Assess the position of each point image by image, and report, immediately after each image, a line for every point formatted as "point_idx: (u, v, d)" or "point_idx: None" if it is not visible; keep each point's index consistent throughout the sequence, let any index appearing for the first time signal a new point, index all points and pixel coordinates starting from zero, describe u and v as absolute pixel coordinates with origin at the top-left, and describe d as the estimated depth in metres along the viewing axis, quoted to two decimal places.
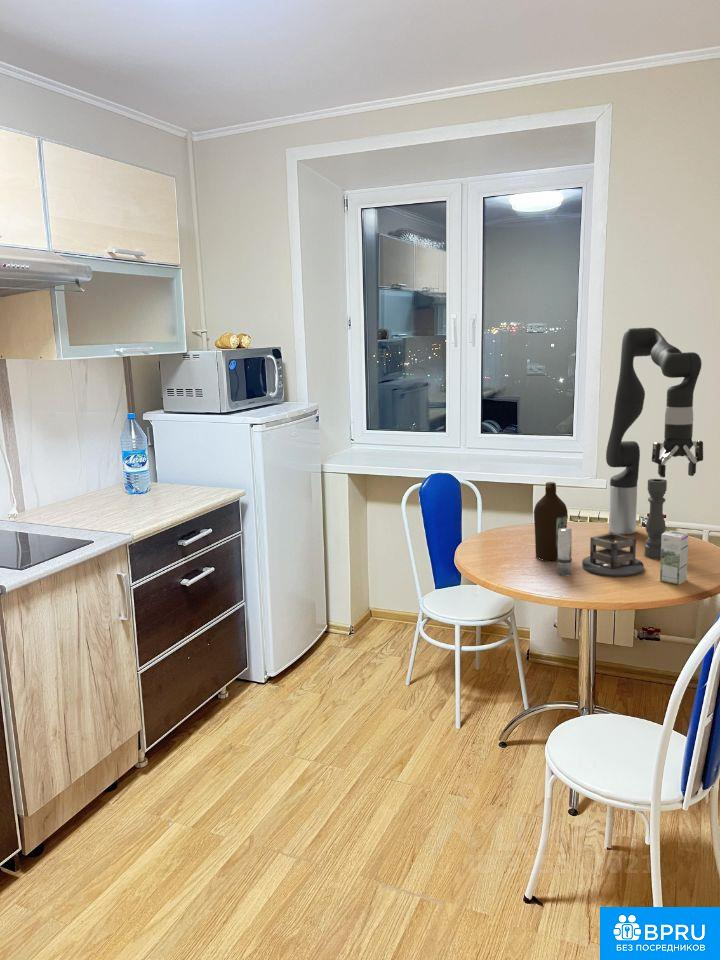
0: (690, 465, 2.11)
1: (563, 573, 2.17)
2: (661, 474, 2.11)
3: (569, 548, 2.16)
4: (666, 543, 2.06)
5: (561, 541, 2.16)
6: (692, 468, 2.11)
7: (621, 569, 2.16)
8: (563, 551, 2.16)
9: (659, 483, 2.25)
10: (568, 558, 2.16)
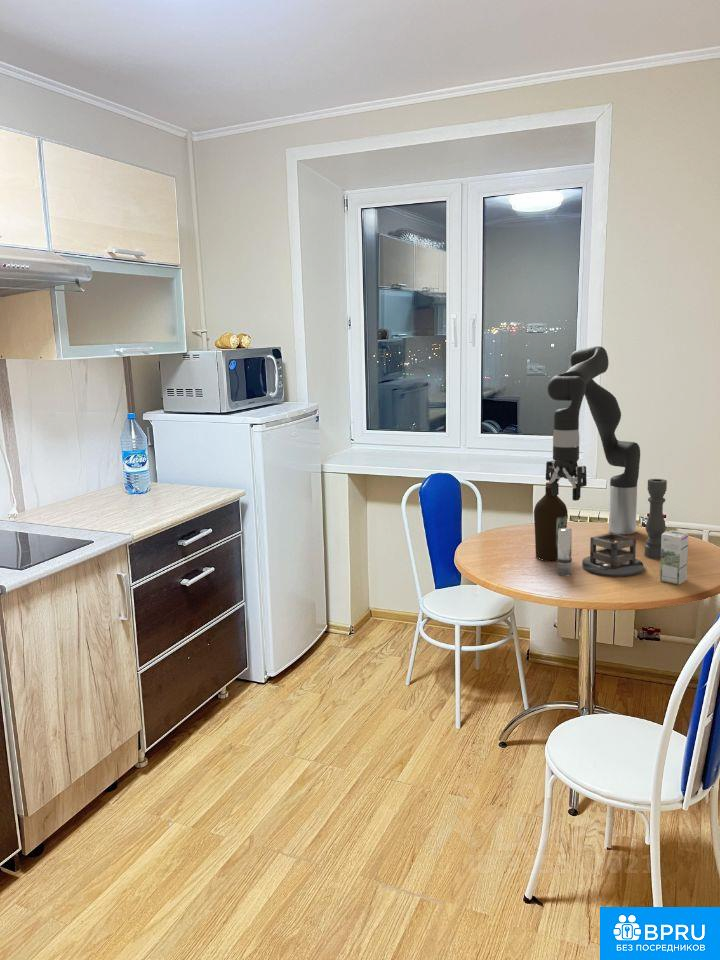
0: (556, 485, 2.18)
1: (563, 573, 2.17)
2: None
3: (569, 548, 2.16)
4: (666, 543, 2.06)
5: (561, 541, 2.16)
6: None
7: (621, 569, 2.16)
8: (563, 551, 2.16)
9: (659, 483, 2.25)
10: (568, 558, 2.16)
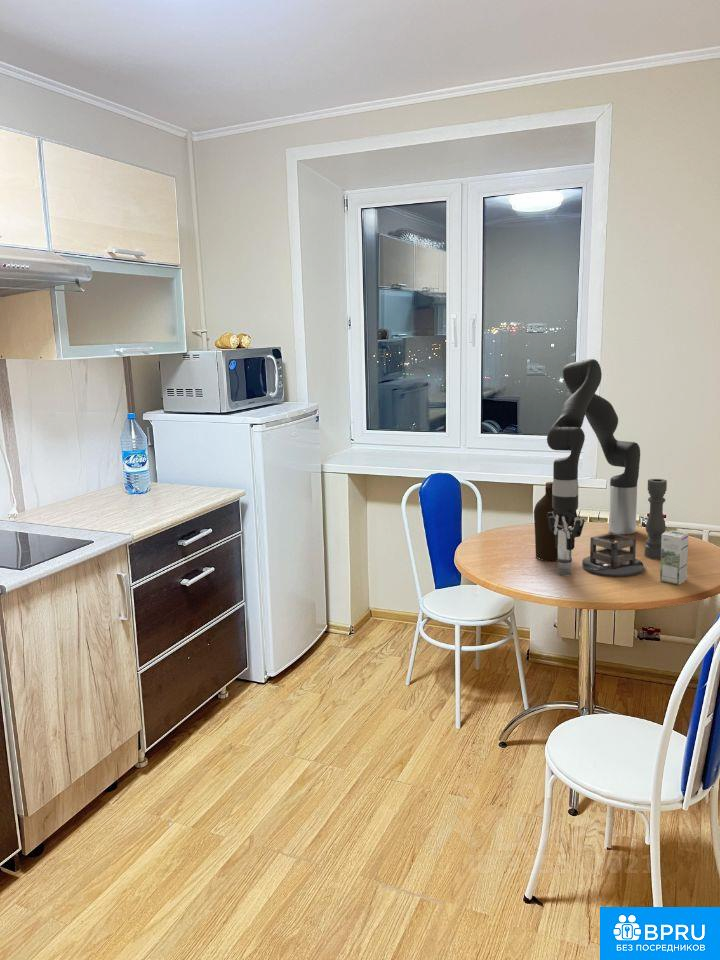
0: None
1: (563, 573, 2.17)
2: None
3: None
4: (666, 543, 2.06)
5: (561, 541, 2.16)
6: None
7: (621, 569, 2.16)
8: (563, 551, 2.16)
9: (659, 483, 2.25)
10: (568, 558, 2.16)
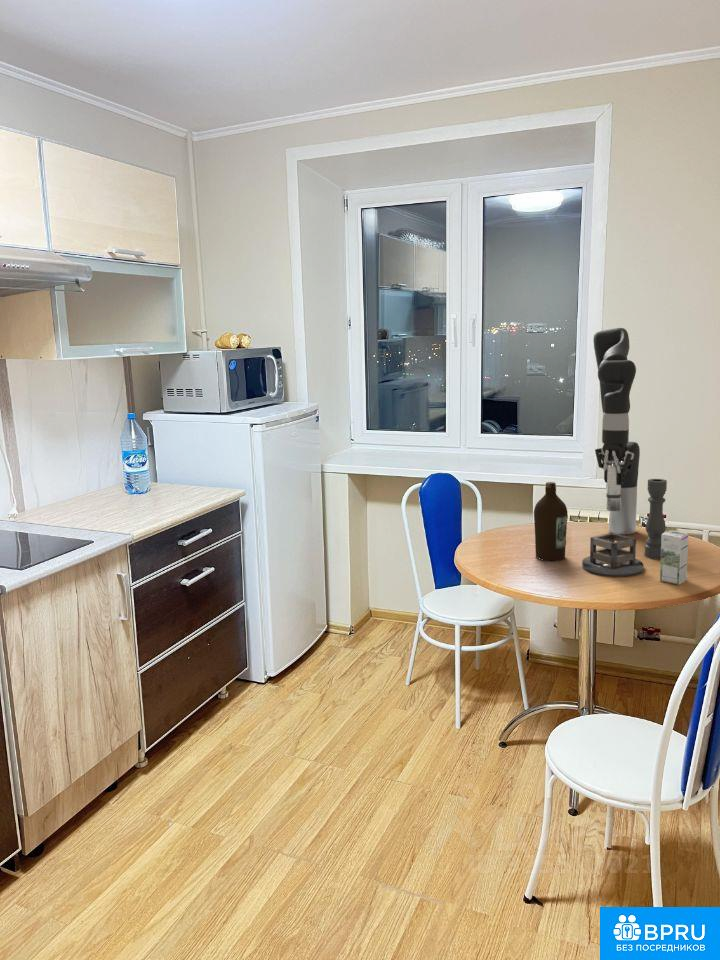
0: None
1: (613, 508, 2.18)
2: None
3: None
4: (666, 543, 2.06)
5: (611, 476, 2.16)
6: None
7: (621, 569, 2.16)
8: (612, 486, 2.16)
9: (659, 483, 2.25)
10: (618, 493, 2.17)
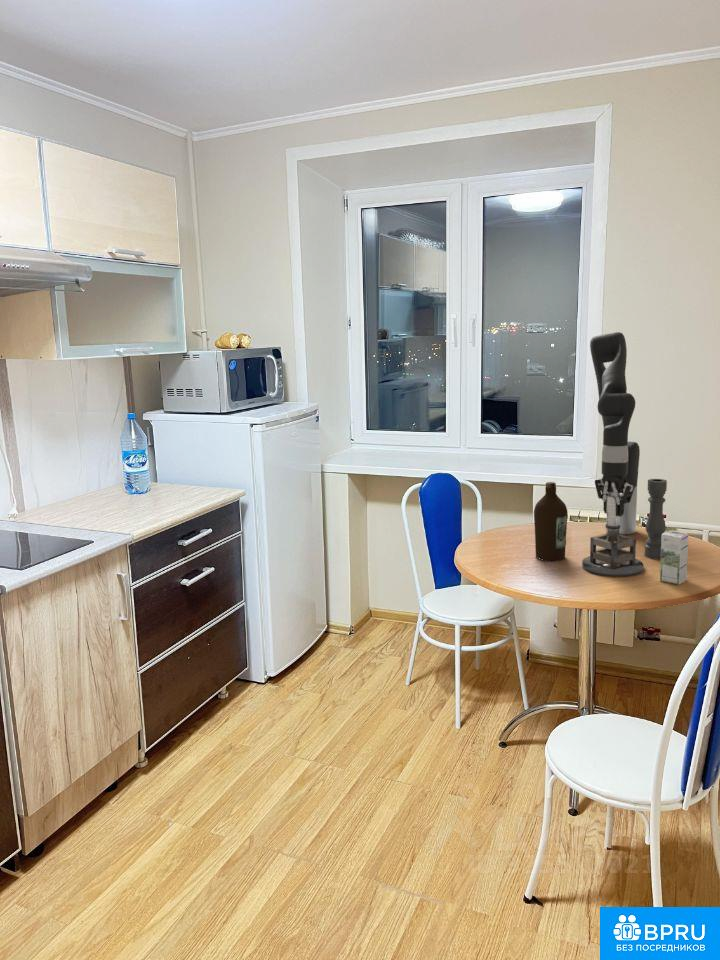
0: None
1: (612, 539, 2.19)
2: None
3: None
4: (666, 543, 2.06)
5: (610, 507, 2.18)
6: None
7: (621, 569, 2.16)
8: (612, 517, 2.18)
9: (659, 483, 2.25)
10: (617, 524, 2.18)
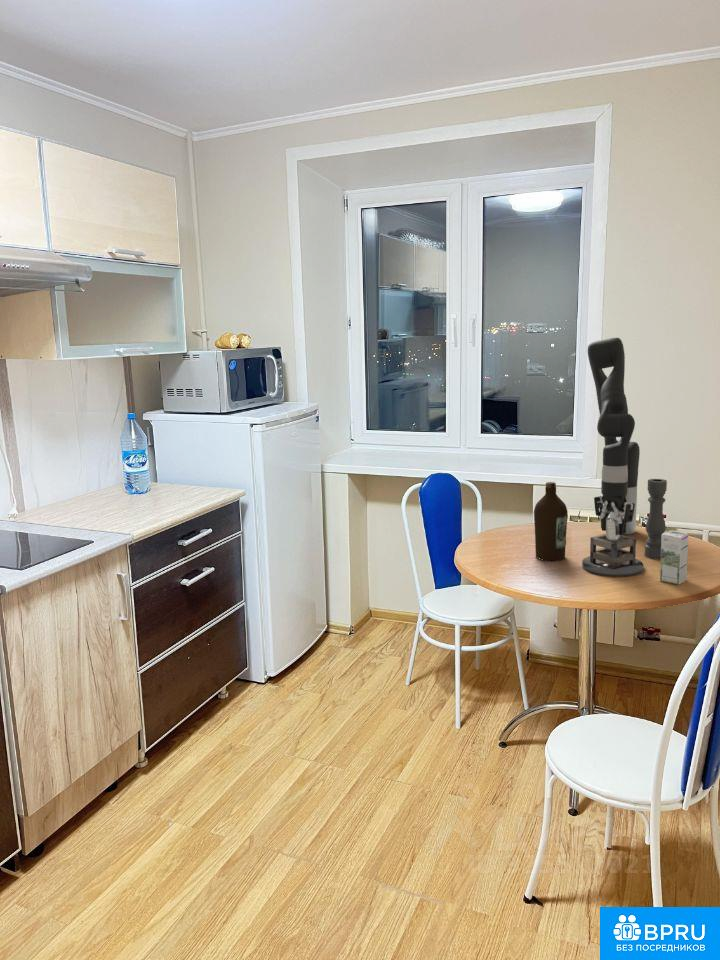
0: None
1: None
2: None
3: (617, 537, 2.19)
4: (666, 543, 2.06)
5: (610, 530, 2.19)
6: None
7: (621, 569, 2.16)
8: (611, 540, 2.19)
9: (659, 483, 2.25)
10: None
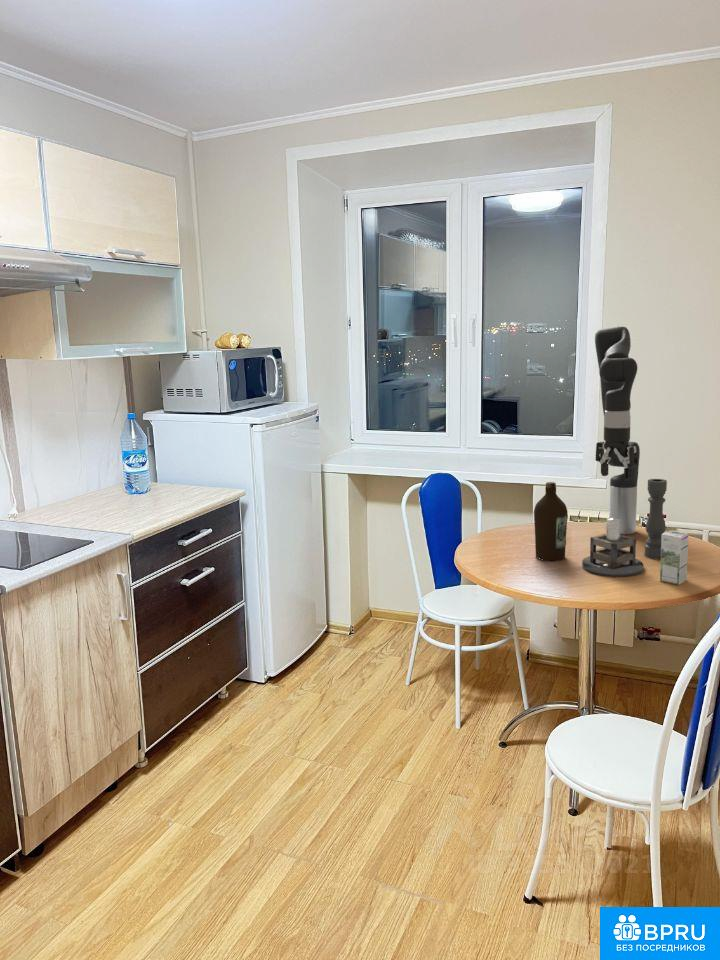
0: (606, 466, 2.22)
1: None
2: None
3: (618, 537, 2.19)
4: (666, 543, 2.06)
5: (610, 530, 2.19)
6: None
7: (621, 569, 2.16)
8: (611, 540, 2.20)
9: (659, 483, 2.25)
10: None
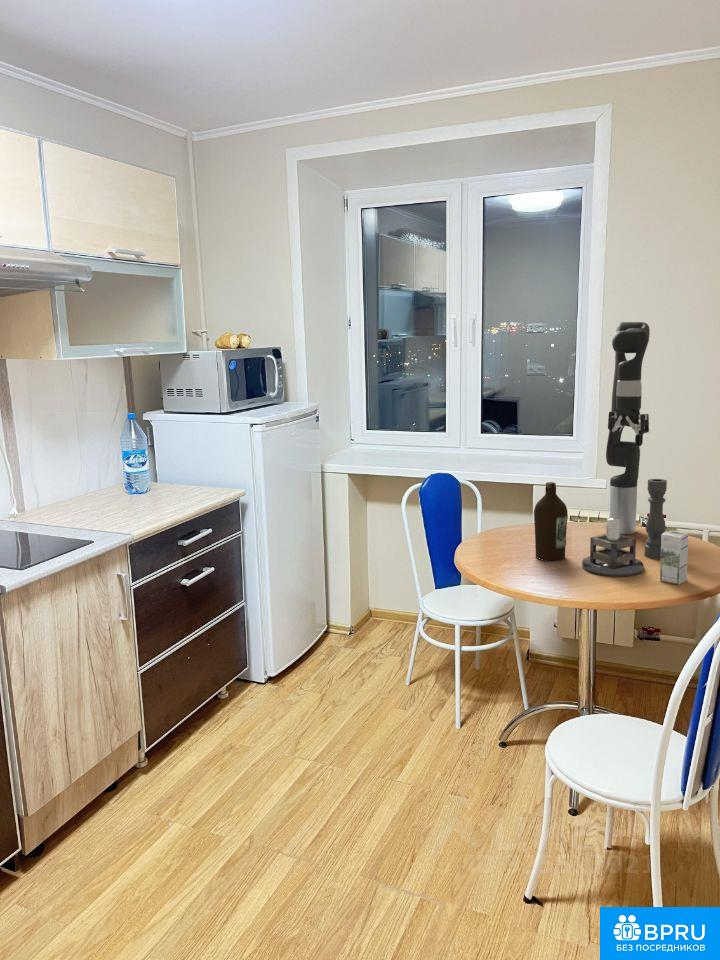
0: (618, 434, 2.33)
1: None
2: None
3: (618, 537, 2.19)
4: (666, 543, 2.06)
5: (610, 530, 2.19)
6: None
7: (621, 569, 2.16)
8: (611, 540, 2.20)
9: (659, 483, 2.25)
10: None
